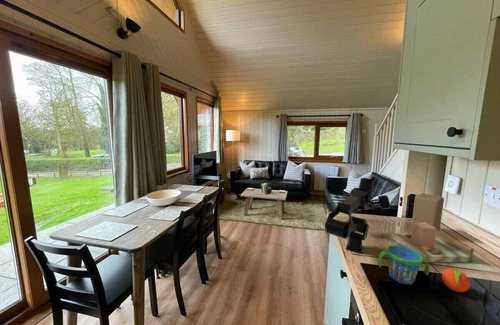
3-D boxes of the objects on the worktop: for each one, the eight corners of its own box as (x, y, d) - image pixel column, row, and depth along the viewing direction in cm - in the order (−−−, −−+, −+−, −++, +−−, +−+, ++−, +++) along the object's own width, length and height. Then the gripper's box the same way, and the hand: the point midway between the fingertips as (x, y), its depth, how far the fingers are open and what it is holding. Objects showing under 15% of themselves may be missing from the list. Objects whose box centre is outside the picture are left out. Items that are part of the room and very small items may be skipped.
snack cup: (421, 275, 80) (425, 249, 78) (433, 294, 70) (437, 266, 69) (374, 265, 85) (376, 241, 84) (379, 282, 76) (382, 255, 74)
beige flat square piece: (423, 261, 88) (425, 248, 87) (391, 238, 108) (392, 226, 107) (471, 262, 88) (473, 248, 87) (430, 238, 108) (432, 227, 107)
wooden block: (439, 233, 114) (444, 197, 111) (433, 238, 108) (438, 200, 105) (417, 226, 122) (421, 192, 119) (410, 230, 116) (414, 195, 114)
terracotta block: (420, 247, 95) (423, 228, 93) (410, 240, 101) (412, 222, 99) (433, 247, 95) (436, 228, 93) (423, 240, 101) (425, 222, 99)
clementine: (469, 302, 67) (473, 282, 66) (440, 291, 72) (443, 272, 71) (467, 289, 73) (471, 270, 72) (440, 279, 78) (443, 261, 77)
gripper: (382, 181, 100) (387, 189, 111) (341, 188, 110) (349, 195, 122) (388, 205, 95) (393, 210, 107) (345, 210, 106) (353, 214, 117)
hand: (371, 207), depth 113 cm, fingers open, 9 cm apart
